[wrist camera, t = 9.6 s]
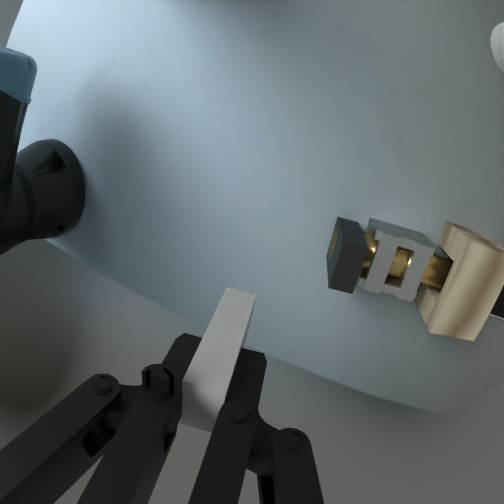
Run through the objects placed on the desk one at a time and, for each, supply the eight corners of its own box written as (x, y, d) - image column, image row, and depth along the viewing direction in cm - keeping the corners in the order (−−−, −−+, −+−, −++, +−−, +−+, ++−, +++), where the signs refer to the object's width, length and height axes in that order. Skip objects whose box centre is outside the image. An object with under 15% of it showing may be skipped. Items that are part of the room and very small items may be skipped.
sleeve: (353, 268, 36) (358, 288, 31) (369, 217, 34) (377, 232, 29) (404, 281, 35) (415, 302, 31) (422, 233, 33) (437, 249, 28)
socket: (414, 300, 36) (429, 332, 30) (446, 221, 32) (470, 241, 25) (455, 310, 35) (474, 341, 29) (488, 236, 31) (515, 258, 25)
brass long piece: (326, 255, 36) (328, 287, 29) (337, 216, 34) (343, 240, 27) (454, 289, 34) (477, 322, 27) (469, 255, 32) (496, 284, 25)
